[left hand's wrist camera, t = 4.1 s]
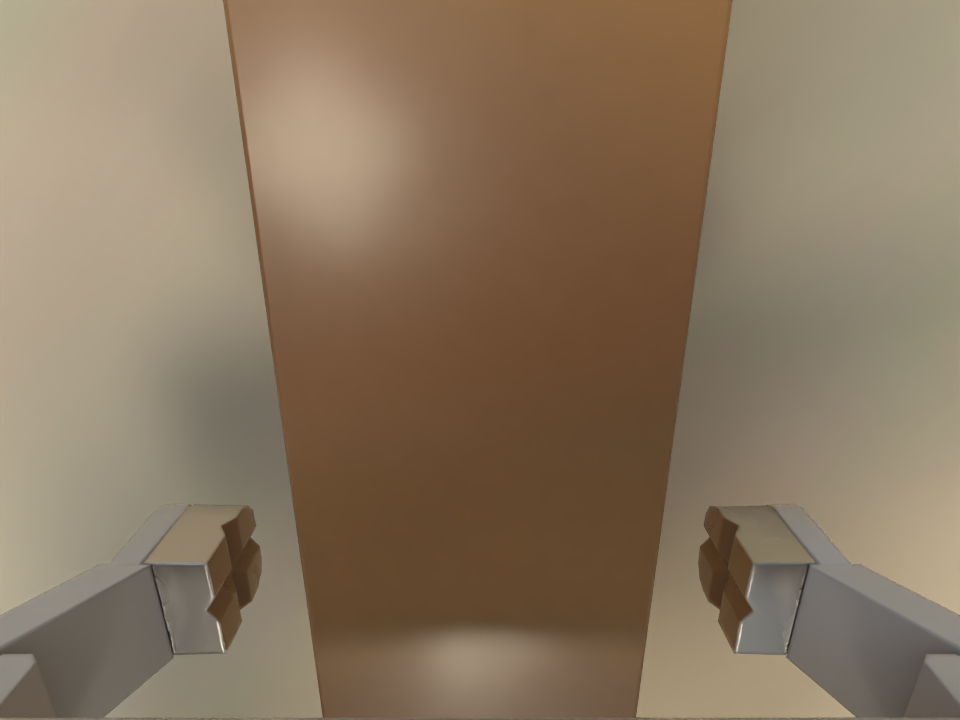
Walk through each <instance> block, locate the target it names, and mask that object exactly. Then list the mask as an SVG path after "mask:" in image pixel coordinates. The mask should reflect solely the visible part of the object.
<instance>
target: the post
mask: <svg viewBox="0 0 960 720" xmlns="http://www.w3.org/2000/svg"><path fill="white" fill-rule="evenodd" d="M223 3H224V10H225V17H226V24H227V31H228V39H229V46H230V53H231V60H232V67H233V75H234V82H235V89H236V96H237V103H238V111H239V118H240V125H241V132H242V139H243V146H244V154H245V161H246V168H247V175H248V182H249V190H250V197H251V204H252V211H253V218H254V226H255V233H256V240H257V247H258V254H259V262H260V269H261V276H262V283H263V290H264V297H265V305H266V312H267V319H268V326H269V333H270V341H271V348H272V355H273V362H274V369H275V377H276V384H277V391H278V398H279V405H280V413H281V420H282V427H283V434H284V441H285V448H286V456H287V463H288V470H289V477H290V484H291V492H292V499H293V506H294V513H295V520H296V528H297V535H298V542H299V549H300V556H301V564H302V571H303V578H304V585H305V592H306V599H307V607H308V614H309V621H310V628H311V635H312V643H313V650H314V657H315V664H316V671H317V679H318V686H319V693H320V700H321V707H322V715H323V718H636V712H637V704H638V697H639V690H640V682H641V675H642V667H643V660H644V653H645V645H646V638H647V630H648V623H649V615H650V608H651V601H652V593H653V586H654V578H655V571H656V563H657V556H658V549H659V541H660V534H661V526H662V519H663V511H664V504H665V497H666V489H667V482H668V474H669V467H670V459H671V452H672V445H673V437H674V430H675V422H676V415H677V408H678V400H679V393H680V385H681V378H682V370H683V363H684V356H685V348H686V341H687V333H688V326H689V318H690V311H691V304H692V296H693V289H694V281H695V274H696V266H697V259H698V252H699V244H700V237H701V229H702V222H703V215H704V207H705V200H706V192H707V185H708V177H709V170H710V163H711V155H712V148H713V140H714V133H715V125H716V118H717V111H718V103H719V96H720V88H721V81H722V73H723V66H724V59H725V51H726V44H727V36H728V29H729V21H730V14H731V7H732V0H223Z"/></svg>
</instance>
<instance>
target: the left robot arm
mask: <svg viewBox="0 0 960 720" xmlns="http://www.w3.org/2000/svg"><path fill="white" fill-rule="evenodd" d="M255 527H256V522H255V517H254V513H253V510H252V509H251V508H250V507H249V506H239V505H190V504H166V505H163V506H160V507H158V508H157V509H156V510H155V512H154V513H153V514H152V515H151V516H150V517H149V518H148V520H147V521H146V522H145V523H144V524H143V525H142V527H141V528H140V529H139V530H138V531H137V532H136V533H135V535H134V536H133V537H132V538H131V539H130V540H129V542H128V543H127V544H126V545H125V546H124V547H123V548H122V550H121V551H120V552H119V553H118V554H117V555H116V556H115V558H114V559H113V560H112V561H111V562H110V563H109V565H97V566H96V567H94V568H92V569H90V570H88V571H86V572H84V573H82V574H80V575H78V576H76V577H74V578H72V579H70V580H68V581H66V582H64V583H62V584H60V585H58V586H56V587H55V588H53V589H51V590H49V591H47V592H45V593H43V594H41V595H39V596H37V597H35V598H33V599H31V600H29V601H27V602H25V603H23V604H21V605H19V606H17V607H15V608H14V609H12V610H10V611H8V612H6V613H4V614H2V615H0V720H960V615H958V614H956V613H954V612H952V611H950V610H948V609H946V608H944V607H942V606H940V605H938V604H936V603H935V602H933V601H931V600H929V599H927V598H925V597H923V596H921V595H919V594H917V593H915V592H913V591H911V590H909V589H907V588H905V587H903V586H901V585H900V584H898V583H896V582H894V581H892V580H890V579H888V578H886V577H884V576H882V575H880V574H878V573H876V572H874V571H872V570H870V569H868V568H866V567H864V566H863V565H851V563H850V562H849V561H848V560H847V559H846V558H845V556H844V555H843V554H842V553H841V552H840V551H839V550H838V548H837V547H836V546H835V545H834V544H833V543H832V542H831V540H830V539H829V538H828V537H827V536H826V535H825V533H824V532H823V531H822V530H821V529H820V528H819V527H818V525H817V524H816V523H815V522H814V521H813V520H812V519H811V517H810V516H809V515H808V514H807V513H806V512H805V510H804V509H803V508H802V507H800V506H798V505H796V504H781V505H766V506H710V507H709V509H708V511H707V513H706V516H705V522H704V527H705V529H706V531H707V532H708V534H709V536H710V537H709V538H708V539H707V540H706V541H705V542H704V543H703V544H702V545H701V546H700V553H699V561H698V565H699V576H700V581H701V585H702V588H703V591H704V593H705V595H706V597H707V599H708V601H709V602H710V603H712V604H713V605H714V606H716V607H717V608H718V609H720V614H719V619H718V622H719V624H720V626H721V628H722V630H723V632H724V634H725V636H726V638H727V640H728V642H729V644H730V646H731V648H732V650H733V652H734V653H739V654H775V655H787V656H786V658H788V659H789V660H790V661H791V662H792V663H794V664H795V665H796V666H797V667H798V668H799V669H801V670H802V671H803V672H804V673H805V674H806V675H808V676H809V677H810V678H811V679H812V680H813V681H815V682H816V683H817V684H818V685H819V686H820V687H822V688H823V689H824V690H825V691H826V692H828V693H829V694H830V695H831V696H832V697H833V698H835V699H836V700H837V701H838V702H839V703H840V704H842V705H843V706H844V707H845V708H846V709H847V710H849V711H850V712H851V713H852V714H853V715H854V716H856V717H857V718H103V717H105V716H106V715H107V714H108V713H109V712H110V711H112V710H113V709H114V708H115V707H116V706H117V705H119V704H120V703H121V702H122V701H123V700H124V699H126V698H127V697H128V696H129V695H130V694H132V693H133V692H134V691H135V690H136V689H137V688H139V687H140V686H141V685H142V684H143V683H144V682H146V681H147V680H148V679H149V678H150V677H151V676H153V675H154V674H155V673H156V672H157V671H159V670H160V669H161V668H162V667H163V666H164V665H166V664H167V663H168V662H169V661H170V660H171V659H173V657H174V656H173V655H185V654H219V653H226V652H227V650H228V648H229V646H230V644H231V642H232V640H233V638H234V636H235V634H236V632H237V630H238V628H239V626H240V624H241V622H242V619H241V614H240V609H242V608H243V607H244V606H246V605H247V604H248V603H250V602H251V601H252V599H253V597H254V595H255V593H256V591H257V589H258V584H259V580H260V575H261V552H260V546H259V545H258V544H257V543H256V542H255V541H254V540H253V539H252V538H251V537H250V536H251V534H252V532H253V531H254V529H255Z"/></svg>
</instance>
